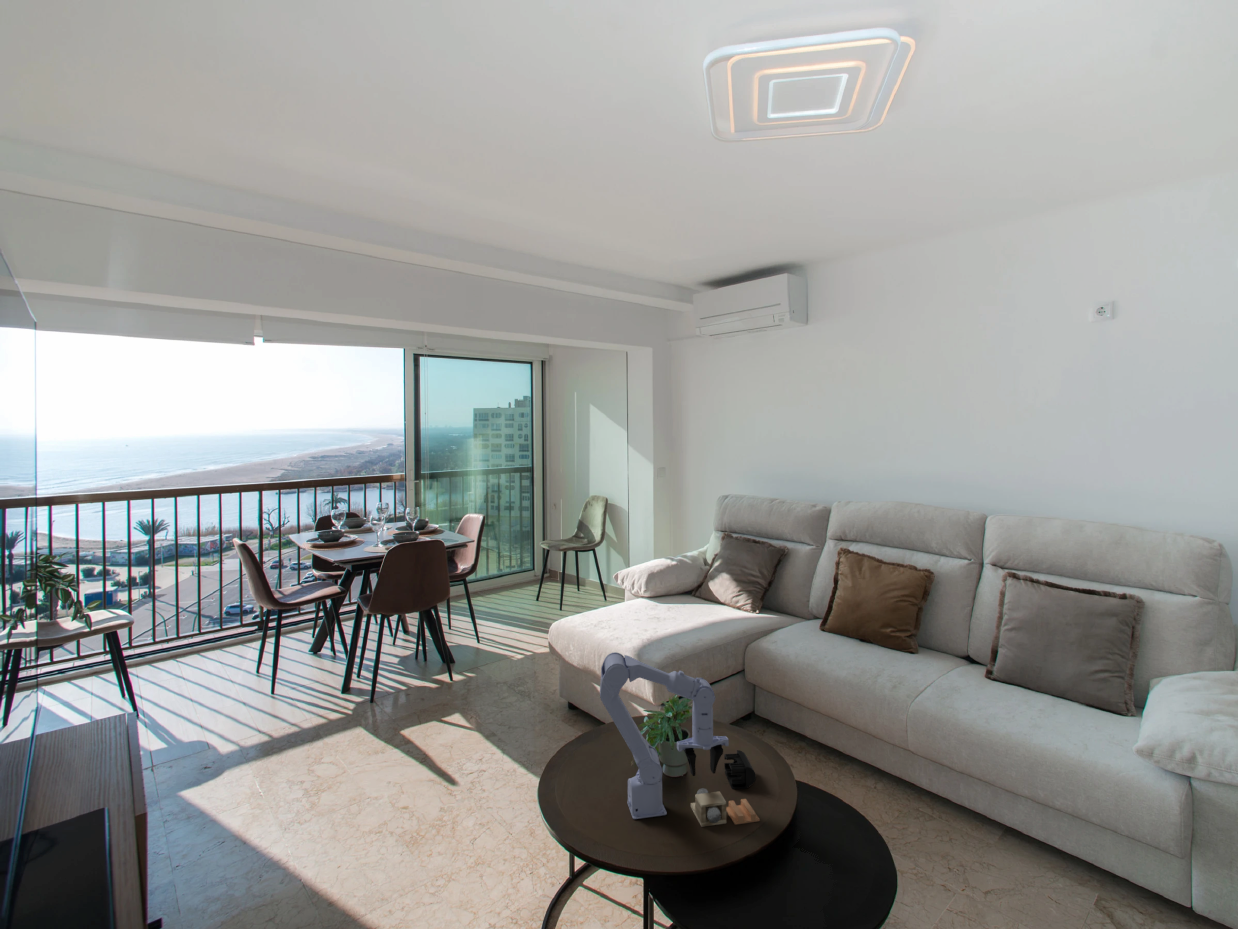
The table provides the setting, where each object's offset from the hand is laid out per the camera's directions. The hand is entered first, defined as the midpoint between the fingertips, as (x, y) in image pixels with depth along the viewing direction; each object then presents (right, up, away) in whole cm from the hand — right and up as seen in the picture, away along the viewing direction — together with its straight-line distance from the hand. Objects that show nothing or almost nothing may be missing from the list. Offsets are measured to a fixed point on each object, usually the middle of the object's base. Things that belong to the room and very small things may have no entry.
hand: (702, 772), depth 166 cm
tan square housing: (+1, -10, -4) cm, 10 cm away
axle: (+1, -7, -4) cm, 8 cm away
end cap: (+13, -9, +13) cm, 20 cm away
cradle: (+10, -9, -4) cm, 14 cm away
